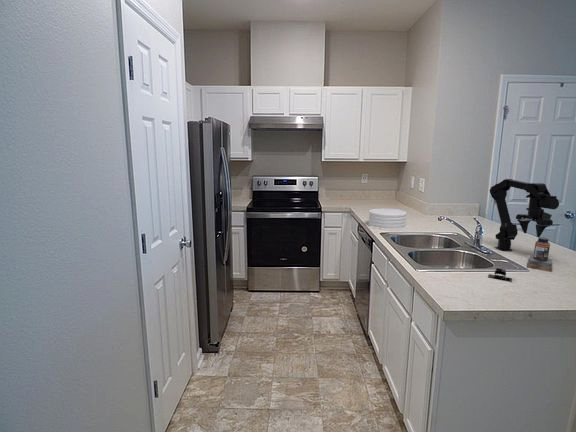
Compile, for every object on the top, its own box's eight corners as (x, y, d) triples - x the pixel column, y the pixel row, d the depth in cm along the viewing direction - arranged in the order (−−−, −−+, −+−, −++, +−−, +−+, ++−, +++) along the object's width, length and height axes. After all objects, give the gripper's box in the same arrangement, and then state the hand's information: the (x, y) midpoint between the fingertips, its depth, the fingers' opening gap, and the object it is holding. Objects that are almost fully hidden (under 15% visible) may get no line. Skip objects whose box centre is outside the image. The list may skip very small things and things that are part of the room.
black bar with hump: (483, 278, 155) (484, 269, 154) (485, 273, 161) (486, 264, 160) (515, 284, 148) (516, 274, 147) (515, 279, 153) (517, 270, 153)
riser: (526, 267, 167) (527, 259, 167) (528, 262, 175) (529, 255, 174) (551, 272, 161) (552, 264, 160) (552, 266, 169) (553, 259, 168)
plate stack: (375, 230, 244) (376, 215, 242) (364, 222, 272) (364, 208, 269) (412, 229, 246) (413, 214, 244) (396, 221, 274) (397, 208, 271)
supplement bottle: (536, 256, 171) (540, 235, 169) (550, 260, 166) (553, 238, 164) (530, 258, 168) (533, 237, 166) (543, 262, 163) (547, 240, 161)
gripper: (564, 209, 168) (560, 238, 171) (535, 204, 186) (532, 231, 189) (544, 209, 167) (540, 239, 170) (516, 204, 186) (513, 231, 188)
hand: (531, 235), depth 179 cm, fingers open, 9 cm apart
